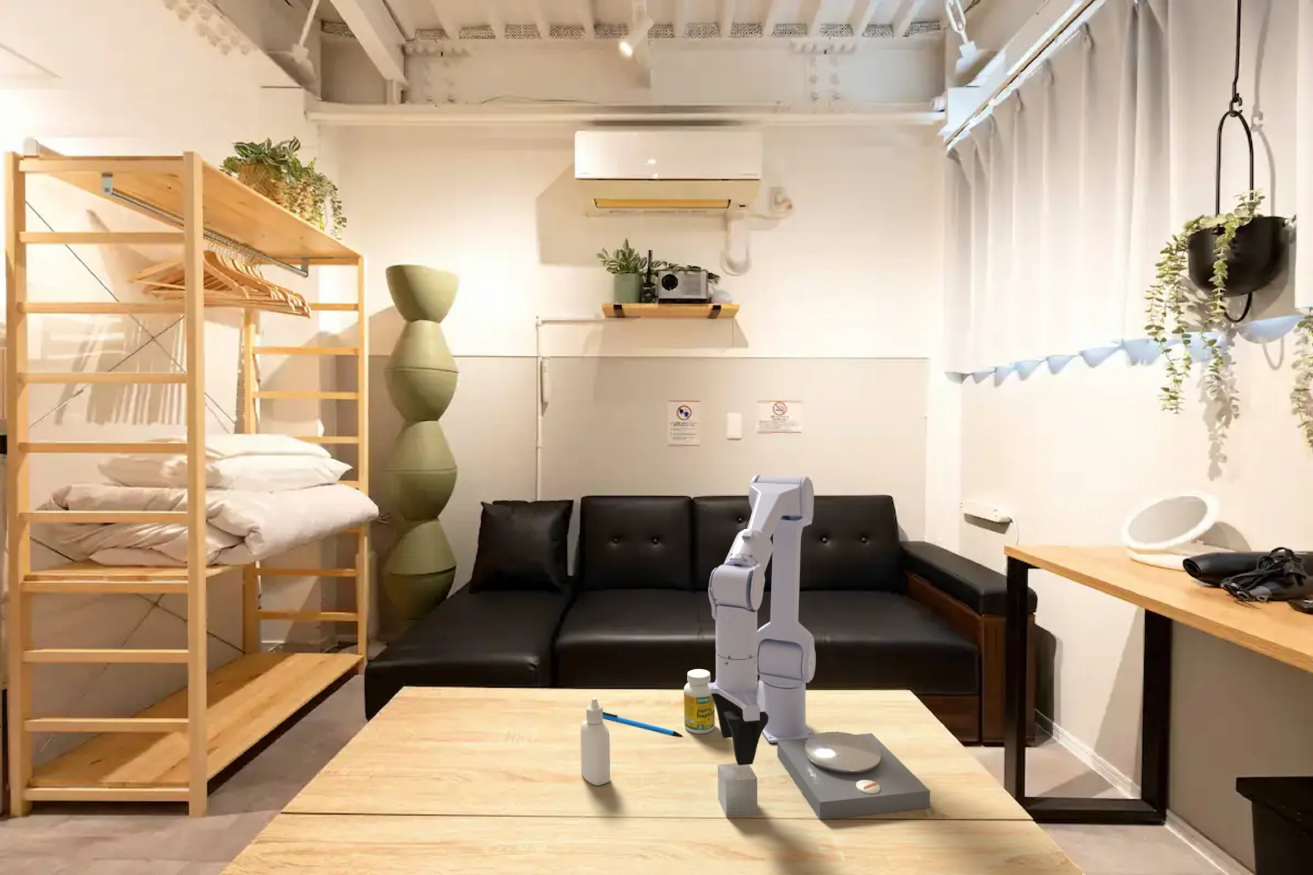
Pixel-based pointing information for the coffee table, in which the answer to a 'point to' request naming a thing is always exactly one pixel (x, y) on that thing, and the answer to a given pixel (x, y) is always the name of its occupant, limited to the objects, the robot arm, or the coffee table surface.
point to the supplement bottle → (698, 703)
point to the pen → (640, 724)
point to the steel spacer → (737, 789)
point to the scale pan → (843, 752)
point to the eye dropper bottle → (595, 746)
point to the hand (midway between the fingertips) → (736, 749)
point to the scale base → (854, 784)
